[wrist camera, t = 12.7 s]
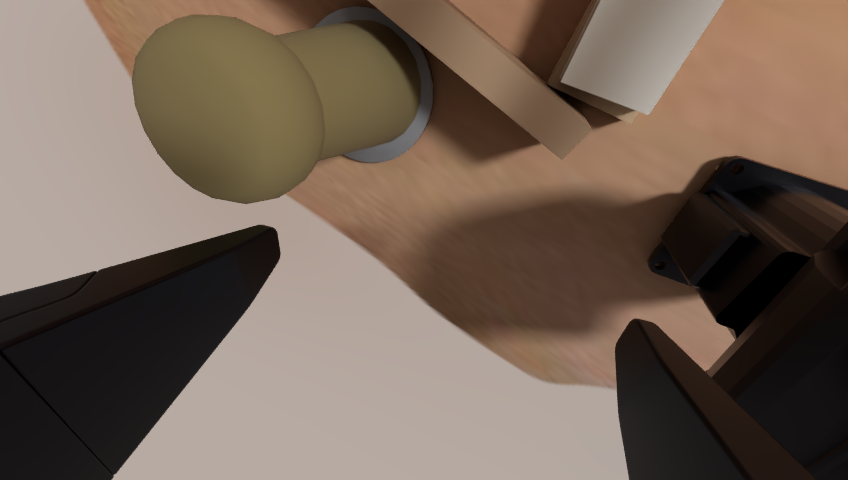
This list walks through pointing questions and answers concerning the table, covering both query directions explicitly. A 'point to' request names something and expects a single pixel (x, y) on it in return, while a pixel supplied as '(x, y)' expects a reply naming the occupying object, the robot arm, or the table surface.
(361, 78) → the olive knobbed peg
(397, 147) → the slate pad
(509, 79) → the brown wooden rectangular frame
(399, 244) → the table surface
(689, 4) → the light grey rectangular block
